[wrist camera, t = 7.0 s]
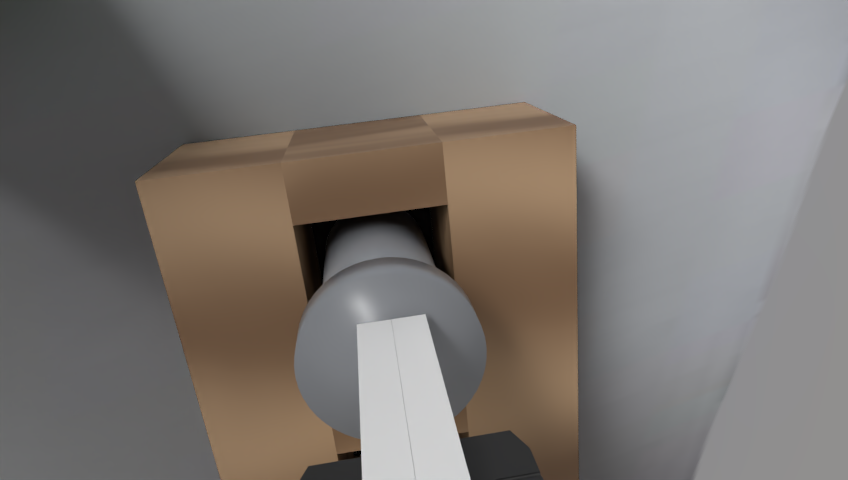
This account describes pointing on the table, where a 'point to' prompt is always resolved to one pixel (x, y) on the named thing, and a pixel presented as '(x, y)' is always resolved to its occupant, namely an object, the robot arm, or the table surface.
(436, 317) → the graphite plug
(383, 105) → the table surface
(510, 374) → the walnut plug block
